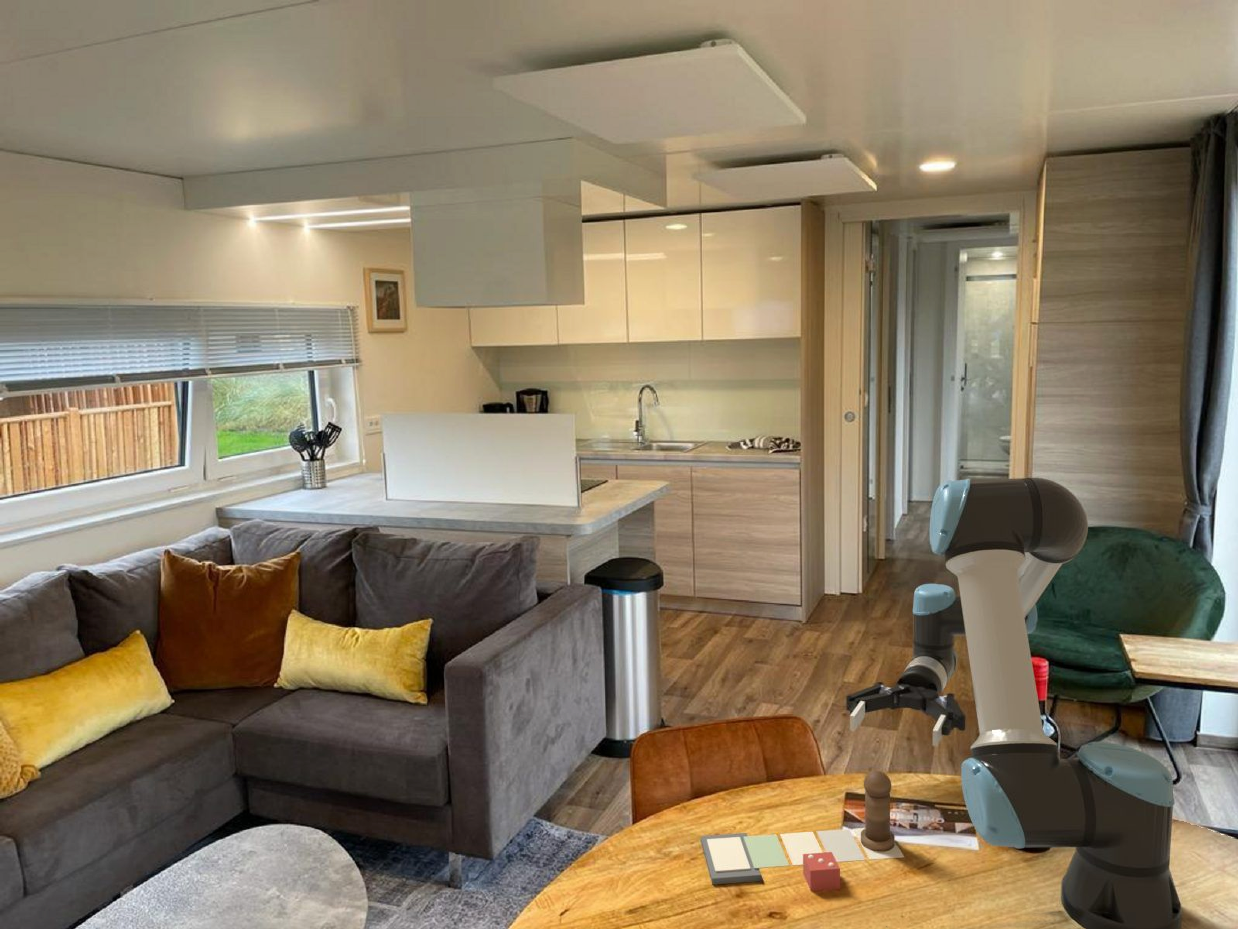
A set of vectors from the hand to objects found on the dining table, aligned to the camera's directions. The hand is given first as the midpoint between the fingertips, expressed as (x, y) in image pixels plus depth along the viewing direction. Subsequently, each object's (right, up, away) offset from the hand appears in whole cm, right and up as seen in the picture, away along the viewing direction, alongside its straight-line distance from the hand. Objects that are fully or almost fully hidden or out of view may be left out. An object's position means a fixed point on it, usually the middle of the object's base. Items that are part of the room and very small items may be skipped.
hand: (892, 731), depth 159 cm
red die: (-15, -19, -16) cm, 29 cm away
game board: (-16, -18, -7) cm, 25 cm away
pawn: (-4, -16, -6) cm, 18 cm away
